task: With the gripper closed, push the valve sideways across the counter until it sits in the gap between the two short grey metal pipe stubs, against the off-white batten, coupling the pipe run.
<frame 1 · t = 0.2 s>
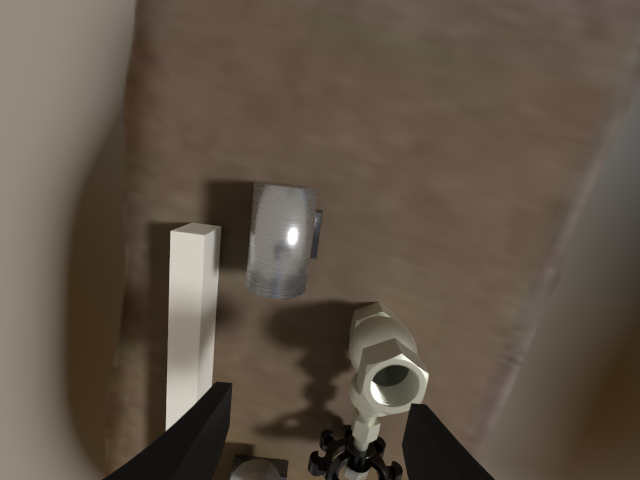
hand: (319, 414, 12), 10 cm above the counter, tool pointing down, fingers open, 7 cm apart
pipe stubs: (272, 362, 23), on the counter
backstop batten: (199, 365, 23), on the counter
valve: (363, 368, 23), on the counter
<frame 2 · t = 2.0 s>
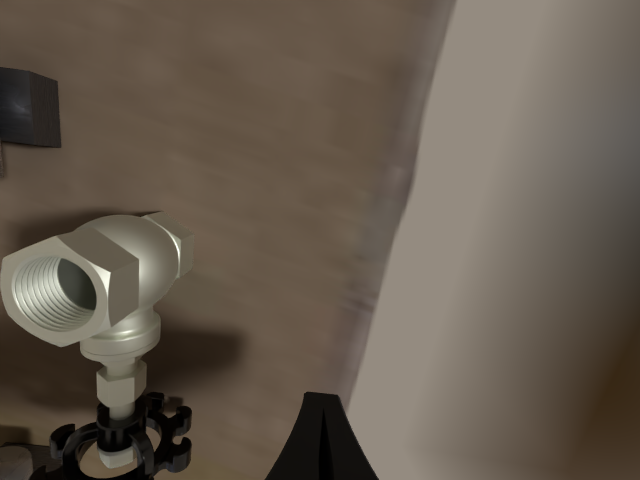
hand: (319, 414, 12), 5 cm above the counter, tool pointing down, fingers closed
pipe stubs: (30, 311, 16), on the counter
valve: (162, 312, 17), on the counter
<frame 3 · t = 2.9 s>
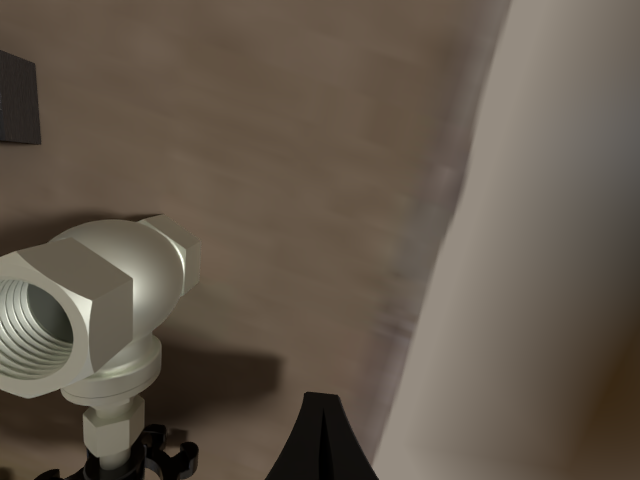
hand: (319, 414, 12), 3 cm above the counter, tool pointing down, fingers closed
pipe stubs: (8, 337, 14), on the counter
valve: (164, 332, 14), on the counter
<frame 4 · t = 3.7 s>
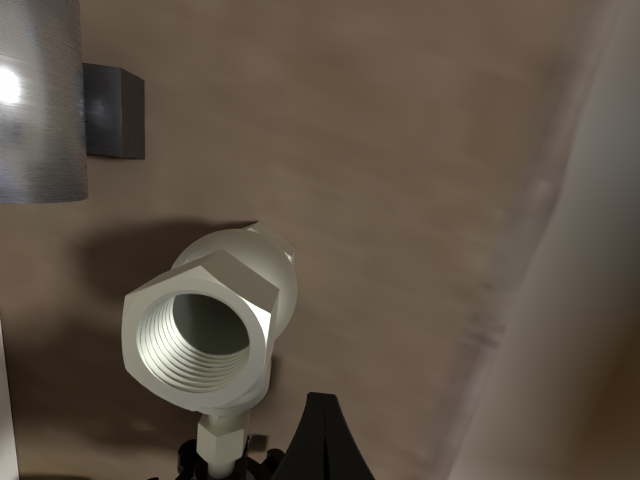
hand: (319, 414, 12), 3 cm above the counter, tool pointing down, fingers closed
pipe stubs: (98, 348, 14), on the counter
valve: (249, 339, 14), on the counter, touching gripper
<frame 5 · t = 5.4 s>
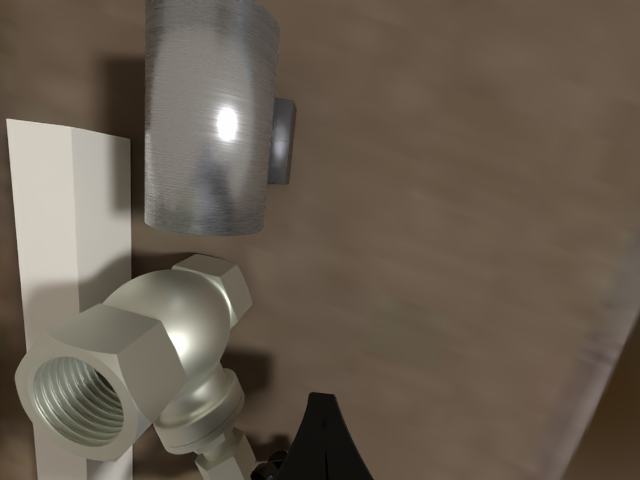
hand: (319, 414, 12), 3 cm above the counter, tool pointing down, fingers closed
pipe stubs: (225, 364, 14), on the counter
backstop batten: (111, 370, 15), on the counter
valve: (246, 362, 14), on the counter, touching gripper
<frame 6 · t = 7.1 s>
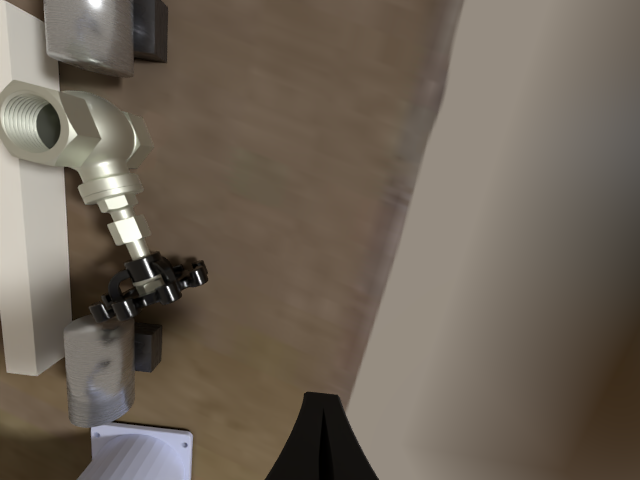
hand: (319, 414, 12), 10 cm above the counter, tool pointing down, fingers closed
pipe stubs: (131, 202, 20), on the counter
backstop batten: (51, 206, 20), on the counter
valve: (151, 197, 21), on the counter
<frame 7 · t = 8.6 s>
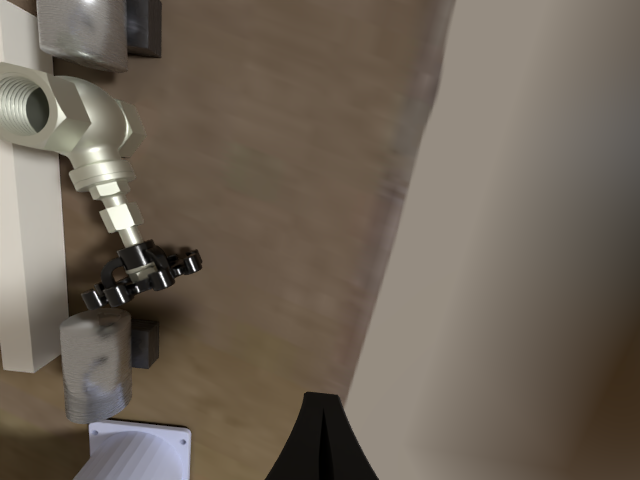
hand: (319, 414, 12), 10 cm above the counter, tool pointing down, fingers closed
pipe stubs: (127, 198, 20), on the counter
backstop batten: (47, 202, 20), on the counter
valve: (145, 186, 21), on the counter
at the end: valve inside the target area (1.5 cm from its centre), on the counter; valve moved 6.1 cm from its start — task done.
